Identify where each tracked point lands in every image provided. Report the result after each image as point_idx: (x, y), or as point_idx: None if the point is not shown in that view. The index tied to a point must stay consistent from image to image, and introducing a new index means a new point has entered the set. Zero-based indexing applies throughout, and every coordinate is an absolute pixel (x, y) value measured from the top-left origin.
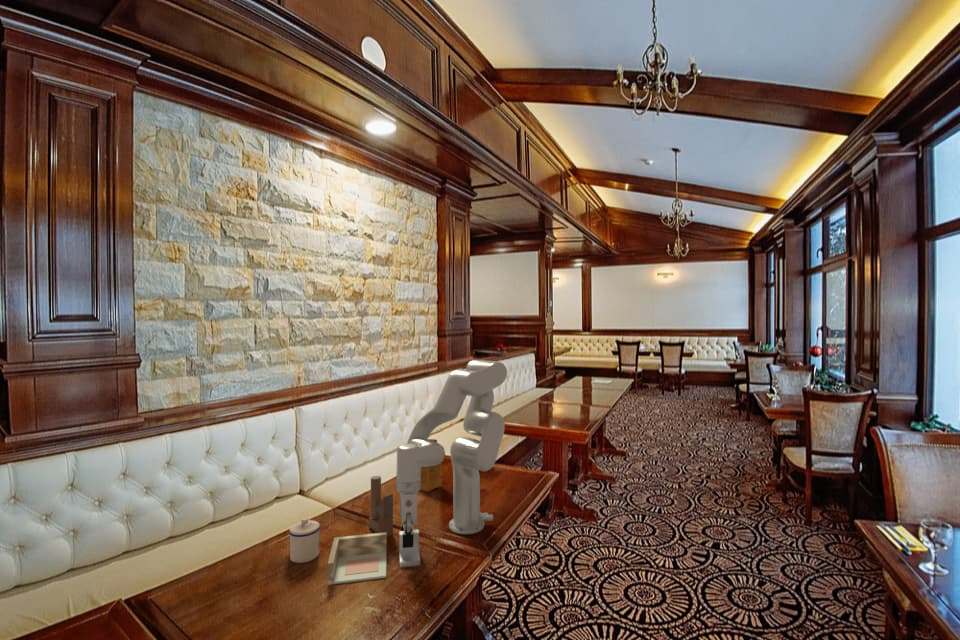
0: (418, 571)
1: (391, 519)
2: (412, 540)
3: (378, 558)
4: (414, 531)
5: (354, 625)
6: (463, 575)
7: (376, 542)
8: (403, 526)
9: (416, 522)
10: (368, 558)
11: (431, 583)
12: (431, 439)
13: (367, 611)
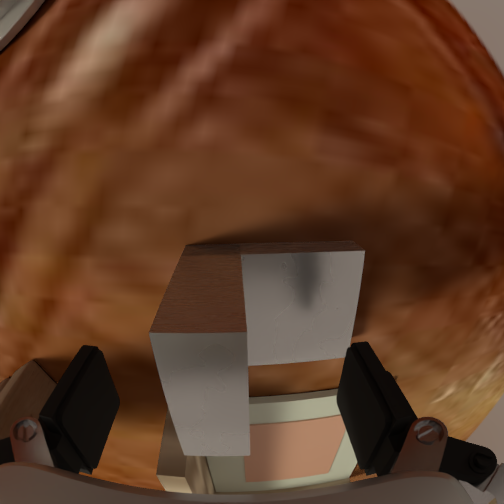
0: (405, 252)
1: (6, 419)
2: (385, 378)
3: (254, 426)
4: (195, 371)
5: (501, 388)
6: (470, 48)
7: (195, 469)
8: (104, 431)
9: (467, 494)
10: None
11: (490, 201)
12: None
13: (487, 380)
